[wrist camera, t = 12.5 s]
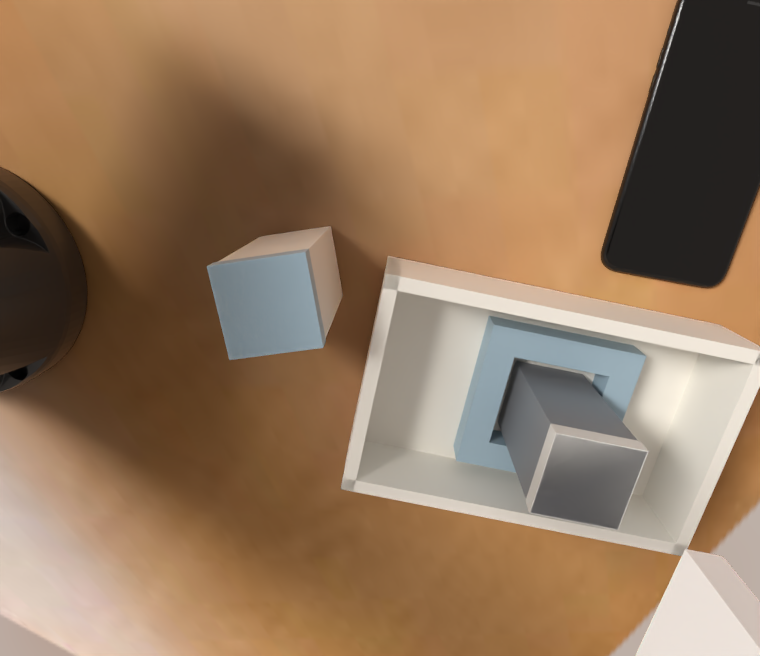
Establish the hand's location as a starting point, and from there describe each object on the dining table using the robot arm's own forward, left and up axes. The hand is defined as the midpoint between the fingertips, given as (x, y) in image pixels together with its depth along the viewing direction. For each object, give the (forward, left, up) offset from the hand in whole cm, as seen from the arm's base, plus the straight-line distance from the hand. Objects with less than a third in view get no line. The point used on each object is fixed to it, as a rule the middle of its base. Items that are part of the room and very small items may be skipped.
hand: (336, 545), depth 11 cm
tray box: (+11, -6, -26) cm, 29 cm away
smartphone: (+17, +11, -27) cm, 33 cm away
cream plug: (-5, -1, -26) cm, 27 cm away
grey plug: (+12, -6, -26) cm, 29 cm away
